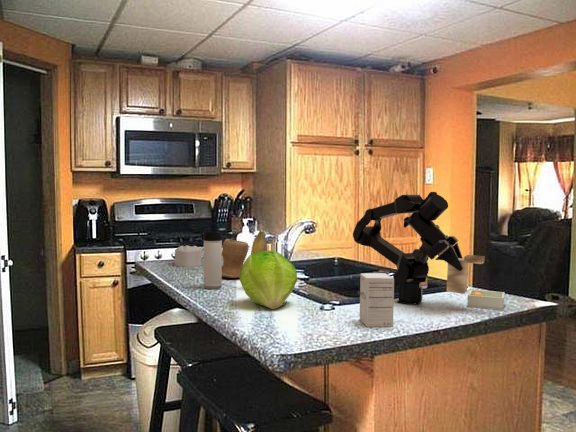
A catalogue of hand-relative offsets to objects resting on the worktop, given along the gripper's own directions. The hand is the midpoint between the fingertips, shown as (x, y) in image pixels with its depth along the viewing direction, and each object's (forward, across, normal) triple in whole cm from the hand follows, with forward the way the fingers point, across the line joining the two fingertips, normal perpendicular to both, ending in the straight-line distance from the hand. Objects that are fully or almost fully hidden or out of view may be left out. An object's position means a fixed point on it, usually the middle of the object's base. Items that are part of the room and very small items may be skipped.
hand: (463, 269), depth 154 cm
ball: (+9, -10, -5) cm, 14 cm away
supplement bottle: (-5, -28, -22) cm, 36 cm away
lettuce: (-28, +22, -46) cm, 58 cm away
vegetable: (-38, +2, -57) cm, 69 cm away
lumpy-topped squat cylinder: (-78, -31, -98) cm, 129 cm away
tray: (+12, -10, -4) cm, 16 cm away
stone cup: (-54, -14, -73) cm, 92 cm away
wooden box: (+5, 0, -4) cm, 7 cm away
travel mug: (-48, +9, -68) cm, 84 cm away
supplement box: (-3, +28, -21) cm, 35 cm away
